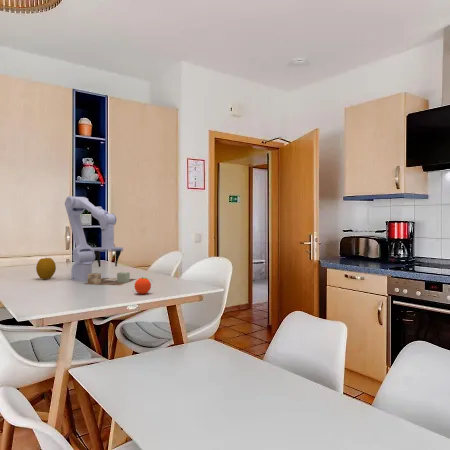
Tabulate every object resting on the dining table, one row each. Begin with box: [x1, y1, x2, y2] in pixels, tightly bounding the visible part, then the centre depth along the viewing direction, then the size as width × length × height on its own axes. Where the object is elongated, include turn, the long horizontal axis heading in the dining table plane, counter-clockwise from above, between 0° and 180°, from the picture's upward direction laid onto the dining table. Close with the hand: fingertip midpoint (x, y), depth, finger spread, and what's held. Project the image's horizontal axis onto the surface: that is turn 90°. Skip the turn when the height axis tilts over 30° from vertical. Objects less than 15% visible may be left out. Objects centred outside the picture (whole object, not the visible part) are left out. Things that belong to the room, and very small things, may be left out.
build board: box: [84, 277, 137, 286], centre depth 202 cm, size 19×20×1 cm
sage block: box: [116, 271, 131, 284], centre depth 201 cm, size 4×4×4 cm
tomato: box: [134, 277, 152, 295], centre depth 175 cm, size 8×7×7 cm
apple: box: [35, 256, 57, 280], centre depth 216 cm, size 10×10×12 cm
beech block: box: [87, 272, 102, 285], centre depth 197 cm, size 4×4×4 cm
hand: (107, 266), depth 199 cm, fingers open, 7 cm apart
